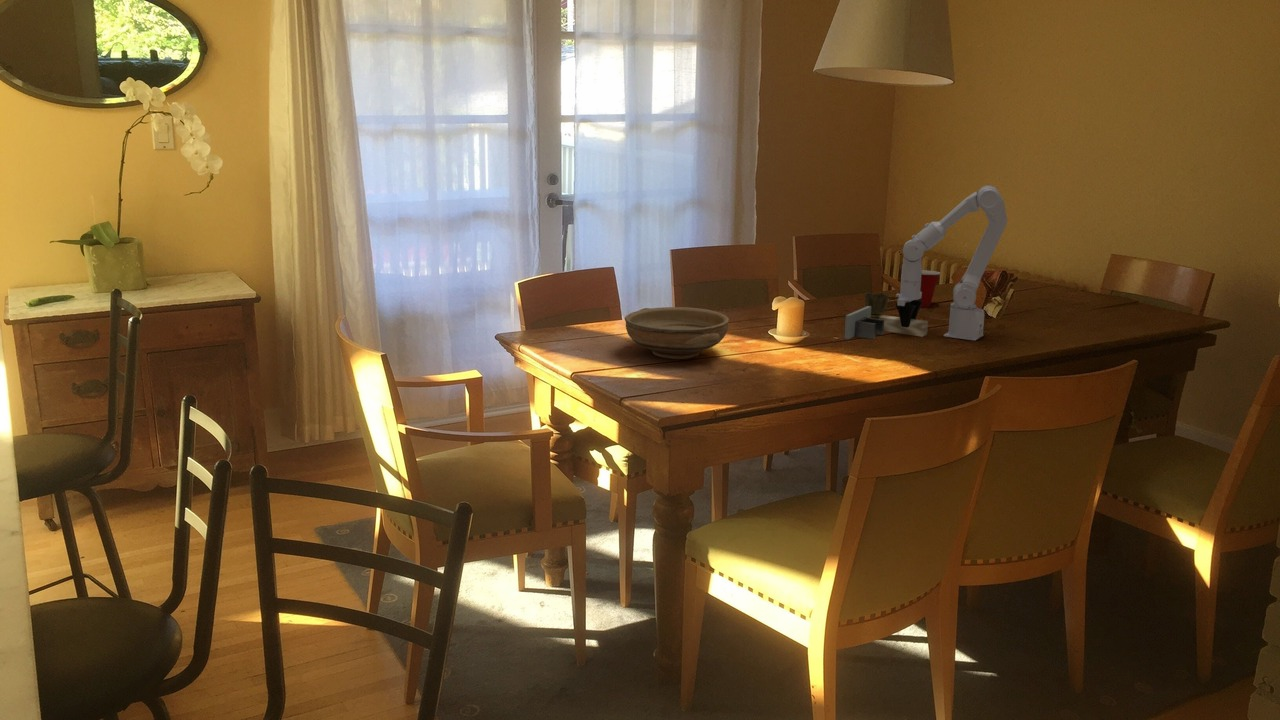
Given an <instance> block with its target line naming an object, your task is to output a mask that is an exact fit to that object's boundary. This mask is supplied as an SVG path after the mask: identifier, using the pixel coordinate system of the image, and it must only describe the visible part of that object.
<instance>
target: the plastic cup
mask: <svg viewBox="0 0 1280 720" xmlns="http://www.w3.org/2000/svg"><path fill="white" fill-rule="evenodd" d="M941 274H942V273H941V272H940V271H934V270H927V269H925V270H924V269H922V274H921V288H920V292H922V296H921V298H920V299H918V300H921V301H923V304H922V305H921V307H920V308H930V307H931V304H932V300H933V297H934V294H935V290H936V286H937V282H938V280H939V277H940V275H941Z"/></svg>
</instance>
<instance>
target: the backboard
mask: <svg viewBox="0 0 1280 720" xmlns="http://www.w3.org/2000/svg"><path fill="white" fill-rule="evenodd" d="M865 317H867V318H871V306H867V307H865V306H864V307H862V308H860V309H858V310H855V311H853V312H851V313H848V314H845V320H844V321H845V325H844V327H845V328H844V340H850V339H852V338H854V335H855V322H856V321H858V320H860V319H862V318H865Z"/></svg>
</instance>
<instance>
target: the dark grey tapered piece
mask: <svg viewBox="0 0 1280 720" xmlns="http://www.w3.org/2000/svg"><path fill="white" fill-rule="evenodd" d="M889 297H890V295H889V294H888V293H884V292H882V291H881V292H877V291H876V293H875V294H874V293H873V292H870V291H868V292H865V293H864V304H865V305H864V307H867V306H871V318H874V319H879V317H881V316H882V314H884V313H885V311H886V310H887V306H888V302H889V301H888V300H889Z"/></svg>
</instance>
